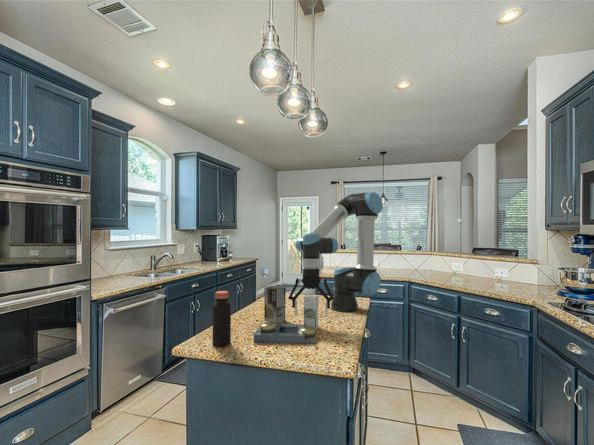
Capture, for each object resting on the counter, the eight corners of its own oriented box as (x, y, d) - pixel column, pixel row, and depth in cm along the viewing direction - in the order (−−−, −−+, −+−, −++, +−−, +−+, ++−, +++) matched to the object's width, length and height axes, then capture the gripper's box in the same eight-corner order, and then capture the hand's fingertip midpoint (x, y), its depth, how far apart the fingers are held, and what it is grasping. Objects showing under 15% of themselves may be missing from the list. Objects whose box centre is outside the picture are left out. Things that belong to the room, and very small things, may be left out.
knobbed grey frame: (306, 331, 136) (306, 320, 137) (304, 344, 121) (304, 330, 122) (260, 330, 138) (260, 319, 138) (253, 342, 123) (253, 329, 123)
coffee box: (286, 320, 153) (286, 287, 154) (276, 323, 148) (276, 289, 149) (273, 317, 159) (273, 285, 160) (263, 319, 155) (263, 286, 155)
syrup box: (318, 327, 143) (318, 295, 143) (316, 331, 137) (316, 297, 138) (306, 326, 144) (306, 294, 145) (303, 330, 138) (303, 297, 139)
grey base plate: (315, 331, 136) (315, 323, 136) (315, 344, 121) (315, 335, 121) (274, 331, 137) (274, 322, 137) (268, 343, 122) (268, 334, 122)
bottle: (211, 342, 123) (211, 291, 123) (228, 340, 125) (229, 289, 126) (213, 348, 117) (214, 294, 117) (232, 346, 119) (232, 292, 120)
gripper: (282, 268, 139) (282, 317, 138) (339, 269, 137) (339, 318, 136) (284, 266, 146) (284, 312, 145) (338, 267, 144) (338, 313, 144)
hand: (311, 315), depth 141 cm, fingers open, 13 cm apart
